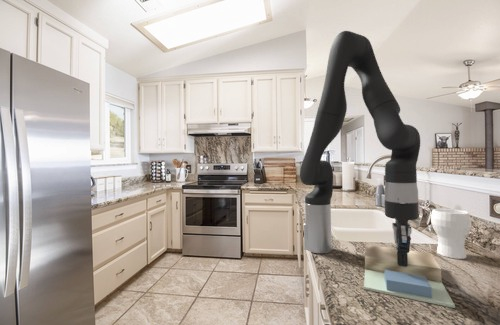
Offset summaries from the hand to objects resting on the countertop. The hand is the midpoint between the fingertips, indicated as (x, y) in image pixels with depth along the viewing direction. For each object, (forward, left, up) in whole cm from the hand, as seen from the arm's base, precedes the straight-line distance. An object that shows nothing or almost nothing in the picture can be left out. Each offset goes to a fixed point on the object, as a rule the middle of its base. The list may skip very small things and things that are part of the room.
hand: (402, 265), depth 62 cm
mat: (0, -1, -5) cm, 5 cm away
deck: (0, +11, -5) cm, 12 cm away
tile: (0, -3, -3) cm, 4 cm away
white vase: (+17, +31, -5) cm, 35 cm away
